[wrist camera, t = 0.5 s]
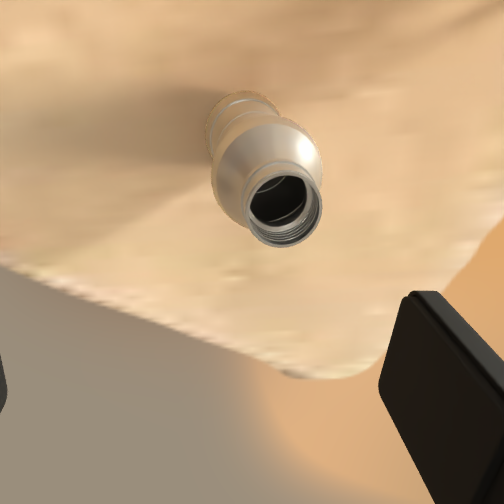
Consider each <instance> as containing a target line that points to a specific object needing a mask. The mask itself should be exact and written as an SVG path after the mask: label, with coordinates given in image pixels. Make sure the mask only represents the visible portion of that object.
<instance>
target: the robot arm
mask: <svg viewBox="0 0 504 504" xmlns="http://www.w3.org/2000/svg"><path fill="white" fill-rule="evenodd" d="M378 387H379V394H380V396H381V398H382V401H383V402H384V404H385V406H386V408H387V410H388V412H389V414H390V416H391V418H392V420H393V422H394V424H395V426H396V428H397V430H398V432H399V434H400V436H401V438H402V440H403V442H404V443H405V446H406V448H407V450H408V452H409V454H410V455H411V457H412V459H413V461H414V463H415V465H416V467H417V469H418V471H419V473H420V475H421V477H422V479H423V481H424V483H425V485H426V487H427V489H428V491H429V493H430V495H431V497H432V499H433V501H434V503H435V504H504V361H503V360H502V359H501V358H500V357H499V356H498V355H497V354H496V353H495V352H494V350H493V349H492V348H491V347H490V346H489V345H488V344H487V343H486V342H485V341H484V340H483V339H482V338H481V337H480V336H479V335H478V333H477V332H476V331H475V330H474V329H473V328H472V327H471V326H470V325H469V324H468V323H467V322H466V321H465V320H464V319H463V317H461V315H460V314H459V313H458V312H457V311H456V310H455V309H454V308H453V307H452V306H451V305H450V304H449V303H448V302H447V301H446V299H445V298H444V297H443V296H442V295H441V294H440V293H439V292H437V291H412V292H410V294H409V295H408V296H406V297H404V298H403V299H402V301H401V304H400V307H399V311H398V315H397V318H396V322H395V325H394V329H393V332H392V336H391V339H390V343H389V346H388V350H387V353H386V357H385V361H384V364H383V368H382V371H381V375H380V379H379V383H378ZM6 398H7V384H6V379H5V375H4V370H3V366H2V361H1V356H0V412H1V411H2V409H3V407H4V405H5V402H6Z"/></svg>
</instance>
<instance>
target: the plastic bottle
mask: <svg viewBox="0 0 504 504" xmlns="http://www.w3.org/2000/svg"><path fill="white" fill-rule="evenodd" d="M205 140H206V144H207V148H208V151H209V153H210V155H211V157H212V158H213V163H212V170H211V184H212V188H213V193H214V196H215V198H216V200H217V202H218V204H219V206H220V207H221V209H222V210H223V212H224V213H225V214H226V215H227V216H228V217H230V218H231V219H232V220H233V221H235V222H236V223H238V224H240V225H241V226H243V227H245V228H248V229H250V231H251V232H252V233H253V235H254V236H255V237H256V238H257V239H258V240H259V241H261V242H262V243H264V244H266V245H269V246H272V247H278V248H283V247H290V246H294V245H296V244H298V243H301V242H302V241H304V240H305V239H307V238H308V237H309V236H310V235H311V234H312V233H313V231H314V230H315V229H316V227H317V225H318V223H319V221H320V218H321V215H322V199H321V195H320V192H319V191H320V188H321V184H322V160H321V156H320V152H319V149H318V147H317V145H316V143H315V141H314V139H313V138H312V137H311V135H310V134H309V133H308V132H307V131H306V130H305V129H304V128H303V127H301V126H300V125H299V124H297V123H295V122H293V121H291V120H289V119H287V118H284V117H281V114H280V113H279V111H278V109H277V107H276V106H275V105H274V104H273V103H272V101H270V100H269V99H268V98H266V97H265V96H263V95H261V94H259V93H256V92H251V91H240V92H235V93H232V94H230V95H228V96H226V97H225V98H223V99H222V100H220V101H219V102H218V103H217V105H216V106H215V107H214V108H213V110H212V111H211V113H210V115H209V117H208V120H207V123H206V129H205Z"/></svg>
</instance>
